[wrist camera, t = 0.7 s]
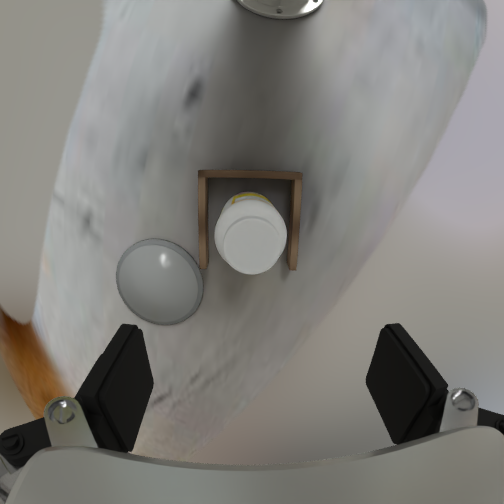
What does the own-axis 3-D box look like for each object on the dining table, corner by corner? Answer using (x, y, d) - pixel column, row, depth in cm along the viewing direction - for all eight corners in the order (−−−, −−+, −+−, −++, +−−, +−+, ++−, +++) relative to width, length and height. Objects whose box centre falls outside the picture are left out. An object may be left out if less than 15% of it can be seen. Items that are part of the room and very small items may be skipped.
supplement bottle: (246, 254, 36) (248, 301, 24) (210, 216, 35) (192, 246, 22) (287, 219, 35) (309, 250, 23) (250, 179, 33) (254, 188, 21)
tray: (112, 238, 35) (110, 240, 34) (201, 239, 36) (200, 241, 35) (124, 319, 39) (122, 322, 38) (205, 324, 39) (204, 328, 38)
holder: (201, 169, 33) (198, 170, 31) (298, 172, 33) (302, 173, 31) (202, 261, 36) (199, 268, 34) (292, 263, 37) (296, 270, 34)
